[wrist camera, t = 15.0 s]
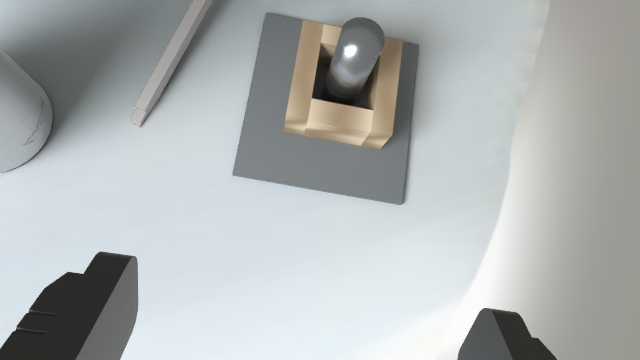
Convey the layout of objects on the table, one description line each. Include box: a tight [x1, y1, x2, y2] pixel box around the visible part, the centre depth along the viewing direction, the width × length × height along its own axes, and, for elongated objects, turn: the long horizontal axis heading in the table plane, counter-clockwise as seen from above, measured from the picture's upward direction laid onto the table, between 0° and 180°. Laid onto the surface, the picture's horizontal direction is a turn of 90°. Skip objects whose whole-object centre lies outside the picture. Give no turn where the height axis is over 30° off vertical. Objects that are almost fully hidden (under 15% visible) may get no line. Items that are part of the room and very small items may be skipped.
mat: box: [233, 13, 419, 205], centre depth 41 cm, size 15×16×1 cm
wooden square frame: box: [283, 20, 403, 150], centre depth 39 cm, size 9×9×4 cm
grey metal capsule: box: [321, 17, 385, 106], centre depth 37 cm, size 3×3×10 cm
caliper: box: [130, 0, 213, 127], centre depth 39 cm, size 20×1×6 cm, turn 154°
